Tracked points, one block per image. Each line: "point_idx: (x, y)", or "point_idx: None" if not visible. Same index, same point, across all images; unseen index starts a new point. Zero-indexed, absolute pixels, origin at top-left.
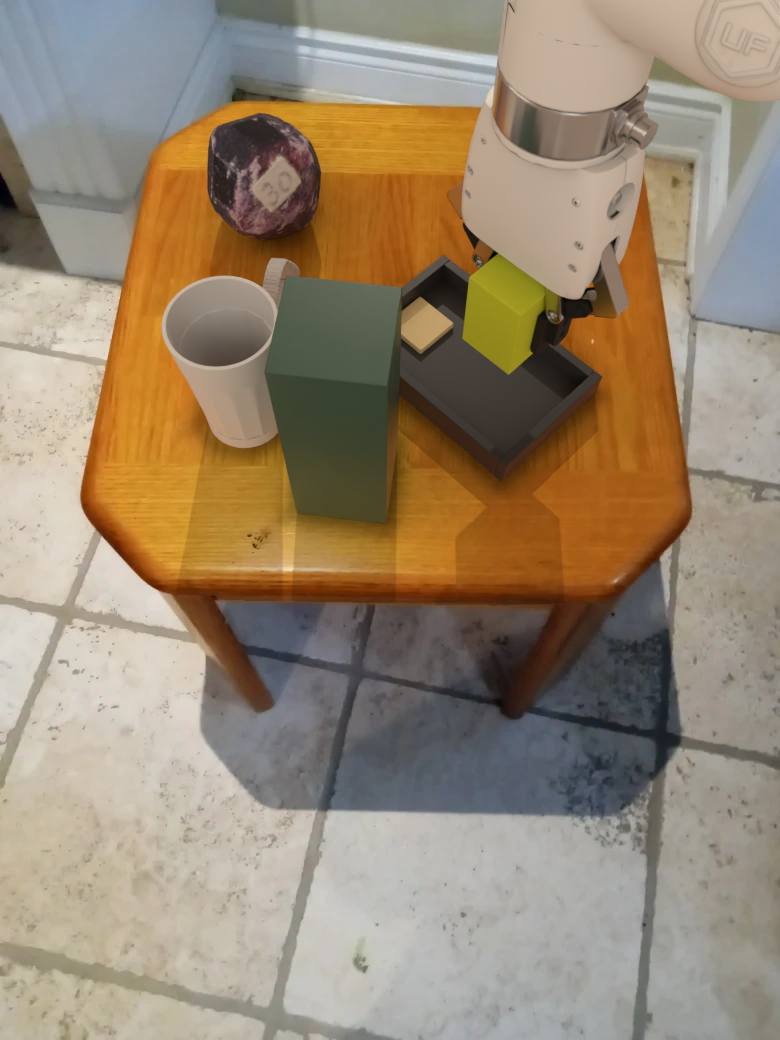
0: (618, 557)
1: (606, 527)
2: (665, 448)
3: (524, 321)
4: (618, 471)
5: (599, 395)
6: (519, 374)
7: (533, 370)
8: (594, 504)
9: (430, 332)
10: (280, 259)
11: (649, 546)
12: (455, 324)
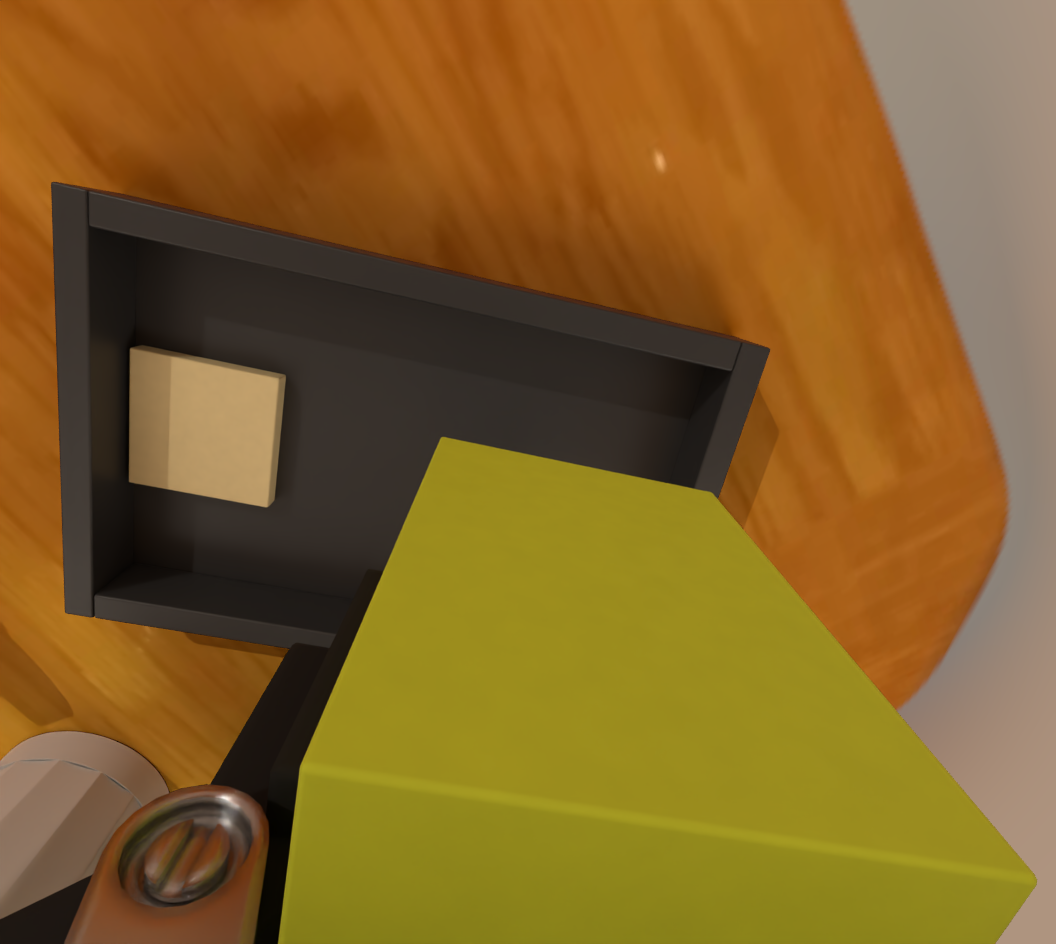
0: (910, 666)
1: (869, 627)
2: (952, 384)
3: None
4: (857, 502)
5: (746, 332)
6: (532, 412)
7: (559, 378)
8: (830, 597)
9: (248, 444)
10: None
11: (965, 616)
12: (285, 361)
